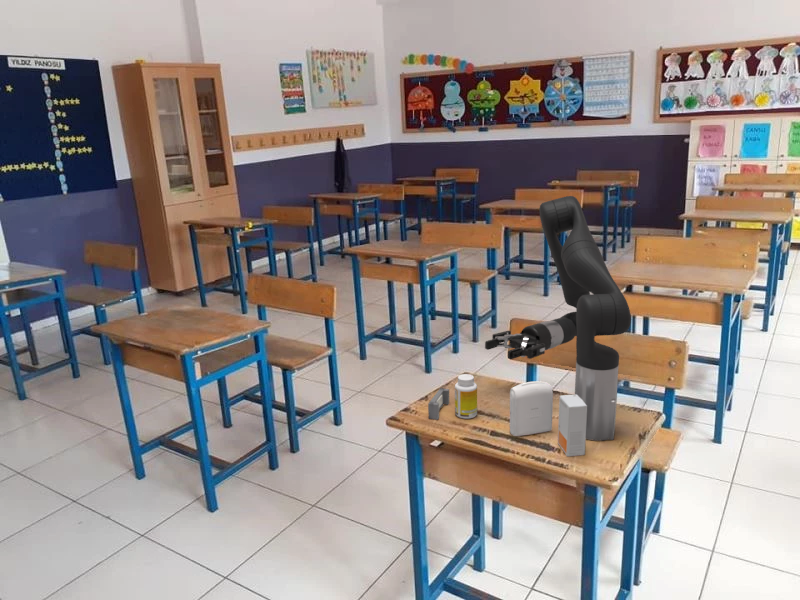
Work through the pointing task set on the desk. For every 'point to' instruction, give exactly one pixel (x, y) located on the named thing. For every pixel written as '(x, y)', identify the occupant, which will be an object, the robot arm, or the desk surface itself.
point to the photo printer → (531, 408)
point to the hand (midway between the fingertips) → (497, 350)
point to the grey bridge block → (438, 403)
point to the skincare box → (572, 425)
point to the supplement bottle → (466, 397)
